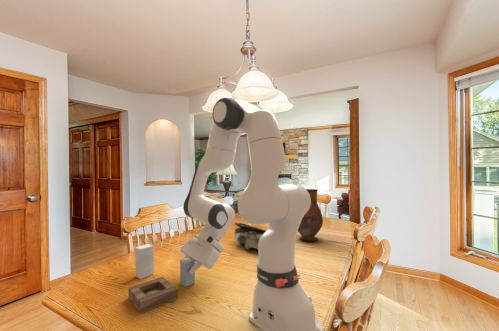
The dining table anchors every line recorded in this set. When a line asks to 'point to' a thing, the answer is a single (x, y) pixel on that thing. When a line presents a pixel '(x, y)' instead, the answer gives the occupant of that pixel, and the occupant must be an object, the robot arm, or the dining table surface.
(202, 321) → the dining table surface
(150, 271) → the skincare box
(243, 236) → the hollow geode rock
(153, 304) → the socket block
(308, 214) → the brown vase
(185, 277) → the post
